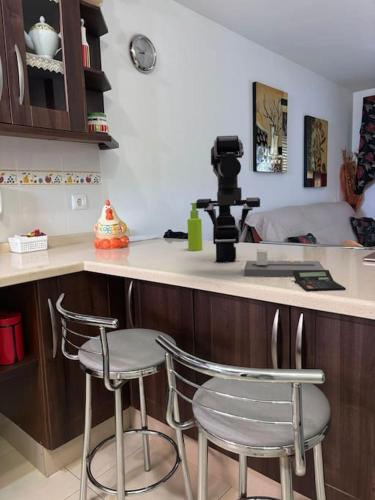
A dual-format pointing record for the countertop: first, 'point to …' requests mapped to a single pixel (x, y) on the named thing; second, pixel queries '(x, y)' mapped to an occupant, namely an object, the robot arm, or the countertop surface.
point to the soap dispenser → (194, 230)
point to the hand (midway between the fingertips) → (228, 232)
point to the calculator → (316, 280)
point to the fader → (261, 256)
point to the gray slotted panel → (280, 268)
